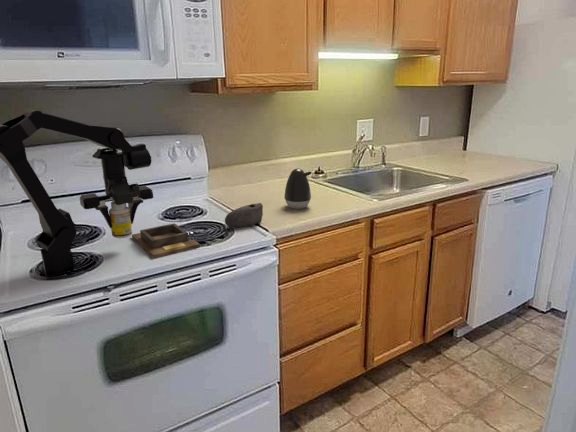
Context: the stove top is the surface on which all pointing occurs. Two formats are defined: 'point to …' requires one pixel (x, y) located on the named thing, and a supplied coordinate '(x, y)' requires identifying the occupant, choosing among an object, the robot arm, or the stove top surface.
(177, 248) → the holder board
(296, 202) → the pump dispenser
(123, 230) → the supplement bottle
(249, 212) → the perforated stone tool
